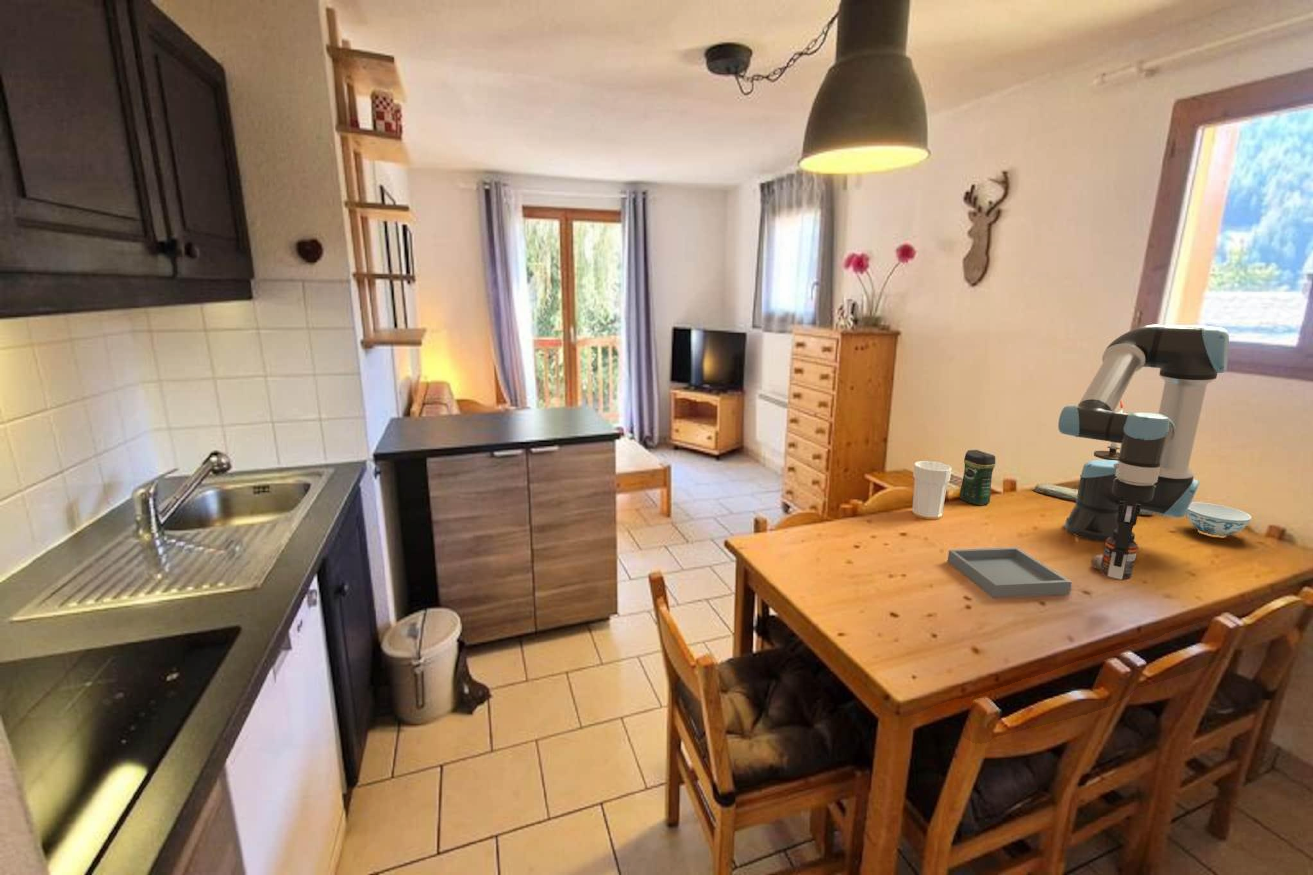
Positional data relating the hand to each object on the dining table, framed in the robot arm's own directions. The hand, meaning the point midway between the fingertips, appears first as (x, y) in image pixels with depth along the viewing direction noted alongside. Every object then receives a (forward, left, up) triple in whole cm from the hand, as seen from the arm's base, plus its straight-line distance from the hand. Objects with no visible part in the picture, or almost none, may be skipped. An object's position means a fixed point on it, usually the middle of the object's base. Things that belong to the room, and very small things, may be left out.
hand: (1115, 571), depth 139 cm
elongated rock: (-52, -65, -9) cm, 84 cm away
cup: (+13, -59, -9) cm, 61 cm away
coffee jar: (-11, -70, -9) cm, 71 cm away
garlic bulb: (-14, -16, -9) cm, 23 cm away
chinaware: (-67, -36, -9) cm, 76 cm away
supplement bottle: (0, 0, -1) cm, 1 cm away
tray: (+16, -15, -8) cm, 24 cm away
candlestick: (-67, -76, -9) cm, 101 cm away
